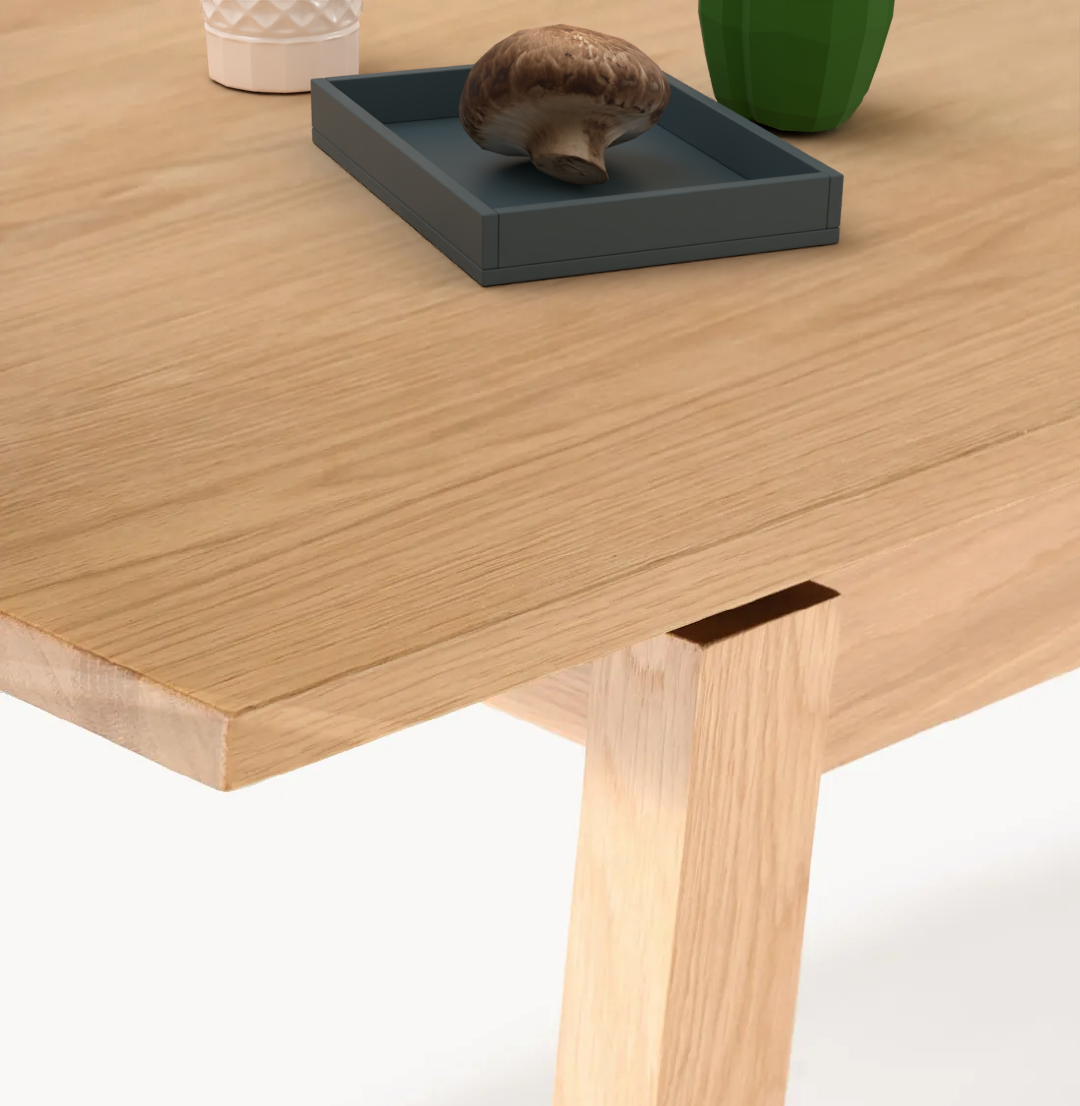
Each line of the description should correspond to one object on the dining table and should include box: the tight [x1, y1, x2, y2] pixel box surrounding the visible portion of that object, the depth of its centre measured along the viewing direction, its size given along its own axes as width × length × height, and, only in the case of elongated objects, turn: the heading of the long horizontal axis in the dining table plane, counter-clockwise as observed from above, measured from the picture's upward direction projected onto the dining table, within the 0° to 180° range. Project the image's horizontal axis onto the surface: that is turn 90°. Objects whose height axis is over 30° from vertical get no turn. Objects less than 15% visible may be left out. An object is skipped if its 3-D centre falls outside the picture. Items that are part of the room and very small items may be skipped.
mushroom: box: [459, 23, 671, 185], centre depth 97 cm, size 8×8×6 cm
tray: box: [310, 63, 845, 287], centre depth 98 cm, size 14×19×3 cm
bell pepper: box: [697, 0, 896, 133], centre depth 106 cm, size 8×8×10 cm
